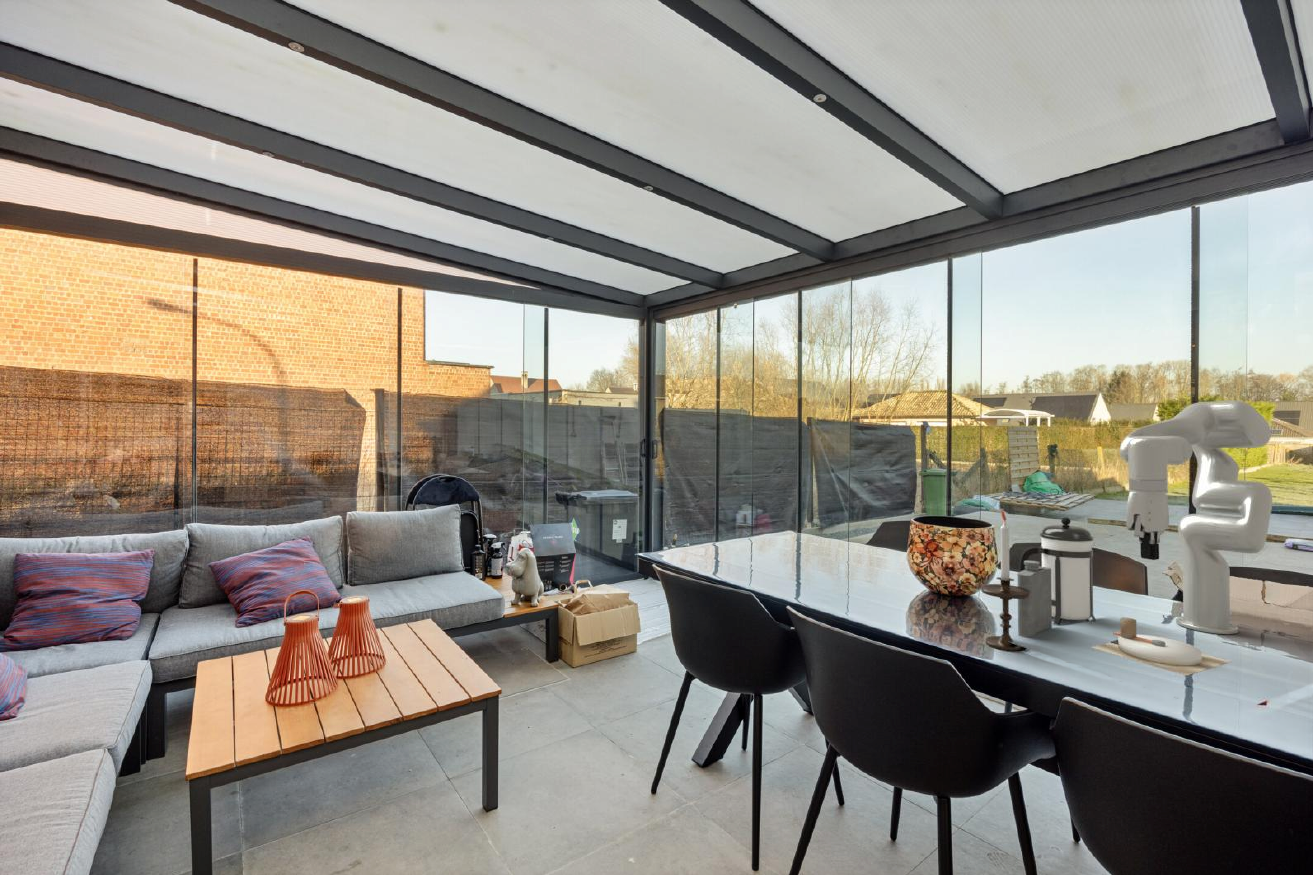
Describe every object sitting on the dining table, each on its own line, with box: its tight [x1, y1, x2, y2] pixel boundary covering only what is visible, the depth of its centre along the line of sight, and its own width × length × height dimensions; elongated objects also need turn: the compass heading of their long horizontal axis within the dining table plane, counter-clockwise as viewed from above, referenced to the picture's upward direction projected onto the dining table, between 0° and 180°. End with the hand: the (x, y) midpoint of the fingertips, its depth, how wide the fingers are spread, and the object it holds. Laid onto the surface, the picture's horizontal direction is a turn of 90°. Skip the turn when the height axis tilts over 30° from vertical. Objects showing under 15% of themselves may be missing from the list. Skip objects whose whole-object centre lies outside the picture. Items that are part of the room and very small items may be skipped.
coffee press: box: [1018, 517, 1098, 626], centre depth 170 cm, size 17×16×30 cm
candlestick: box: [980, 508, 1030, 653], centre depth 149 cm, size 11×11×35 cm
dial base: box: [1090, 639, 1232, 677], centre depth 138 cm, size 19×19×2 cm
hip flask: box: [1017, 560, 1053, 638], centre depth 157 cm, size 16×4×20 cm, turn 127°
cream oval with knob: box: [1113, 616, 1203, 665], centre depth 139 cm, size 16×15×6 cm
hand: (1149, 558), depth 147 cm, fingers closed
